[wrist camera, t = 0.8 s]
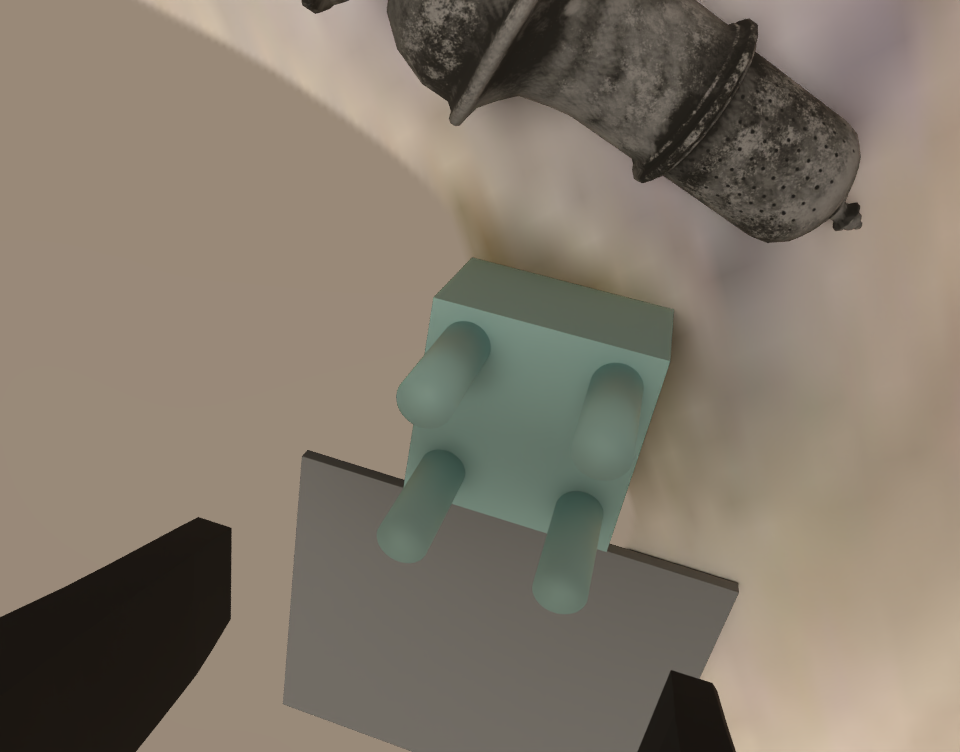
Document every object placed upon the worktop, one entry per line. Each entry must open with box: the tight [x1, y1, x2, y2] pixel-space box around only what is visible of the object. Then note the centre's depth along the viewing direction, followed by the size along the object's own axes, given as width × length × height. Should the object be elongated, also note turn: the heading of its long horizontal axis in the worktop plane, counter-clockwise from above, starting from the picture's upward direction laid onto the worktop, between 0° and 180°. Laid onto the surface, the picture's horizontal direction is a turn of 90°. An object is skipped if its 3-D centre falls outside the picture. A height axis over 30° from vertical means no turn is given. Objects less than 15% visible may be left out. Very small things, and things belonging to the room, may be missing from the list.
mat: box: [283, 450, 739, 752], centre depth 26 cm, size 14×12×1 cm
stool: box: [377, 258, 674, 614], centre depth 18 cm, size 6×6×6 cm
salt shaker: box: [302, 0, 862, 243], centre depth 15 cm, size 6×6×12 cm
